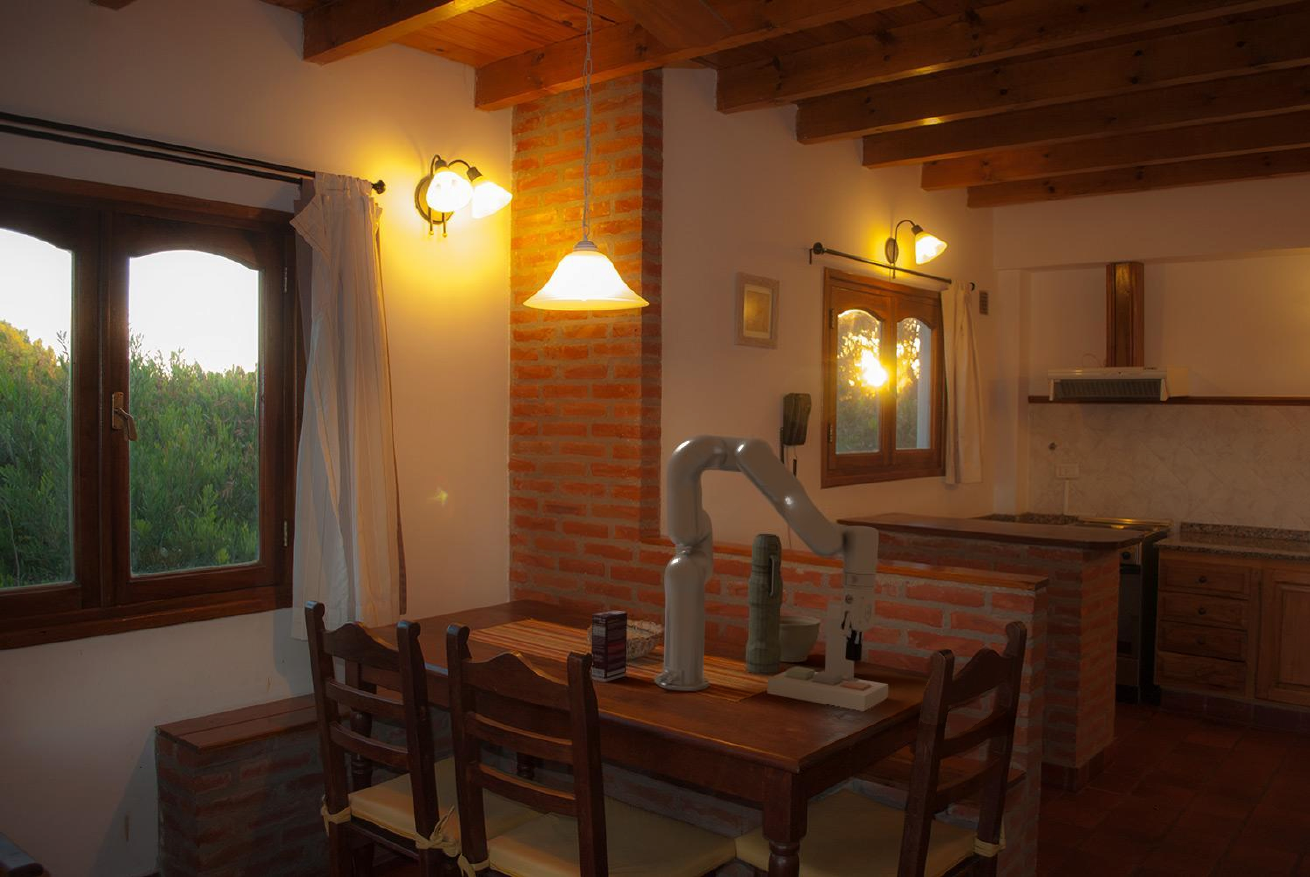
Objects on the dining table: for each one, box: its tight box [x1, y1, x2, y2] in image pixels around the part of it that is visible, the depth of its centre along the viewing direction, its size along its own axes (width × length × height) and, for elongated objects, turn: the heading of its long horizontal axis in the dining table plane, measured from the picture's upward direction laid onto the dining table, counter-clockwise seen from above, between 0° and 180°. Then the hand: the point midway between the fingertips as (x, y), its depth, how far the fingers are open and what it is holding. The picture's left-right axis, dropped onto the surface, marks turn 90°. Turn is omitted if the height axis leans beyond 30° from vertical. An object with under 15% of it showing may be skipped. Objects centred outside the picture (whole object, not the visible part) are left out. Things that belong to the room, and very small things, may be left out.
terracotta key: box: [841, 681, 871, 691], centre depth 230 cm, size 5×5×2 cm
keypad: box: [766, 671, 889, 712], centre depth 234 cm, size 14×24×4 cm, turn 56°
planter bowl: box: [779, 614, 821, 663], centre depth 273 cm, size 16×16×11 cm
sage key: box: [785, 665, 816, 681], centre depth 238 cm, size 5×5×2 cm
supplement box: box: [590, 610, 628, 683], centre depth 245 cm, size 9×5×16 cm, turn 145°
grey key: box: [813, 670, 842, 686], centre depth 234 cm, size 5×5×2 cm
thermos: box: [745, 533, 784, 676], centre depth 258 cm, size 9×12×35 cm
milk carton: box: [824, 599, 855, 678], centre depth 256 cm, size 7×7×19 cm
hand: (853, 659), depth 230 cm, fingers closed
